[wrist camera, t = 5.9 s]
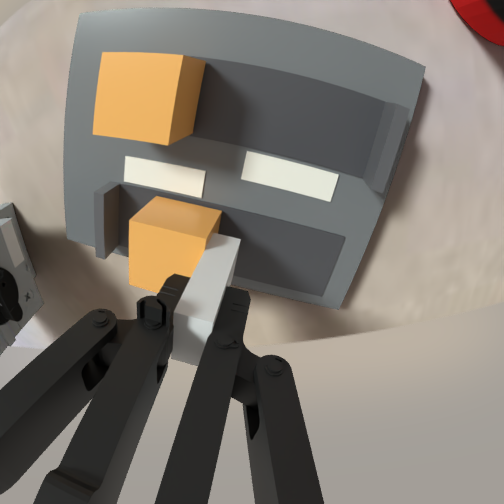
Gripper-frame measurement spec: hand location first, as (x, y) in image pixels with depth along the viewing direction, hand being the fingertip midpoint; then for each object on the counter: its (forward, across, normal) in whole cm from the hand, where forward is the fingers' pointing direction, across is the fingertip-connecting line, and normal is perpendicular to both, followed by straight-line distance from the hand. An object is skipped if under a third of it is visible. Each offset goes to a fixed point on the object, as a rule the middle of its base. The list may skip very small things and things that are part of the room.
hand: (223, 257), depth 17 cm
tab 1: (+2, +5, -8) cm, 10 cm away
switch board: (+3, +2, -5) cm, 6 cm away
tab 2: (+2, +3, 0) cm, 3 cm away
